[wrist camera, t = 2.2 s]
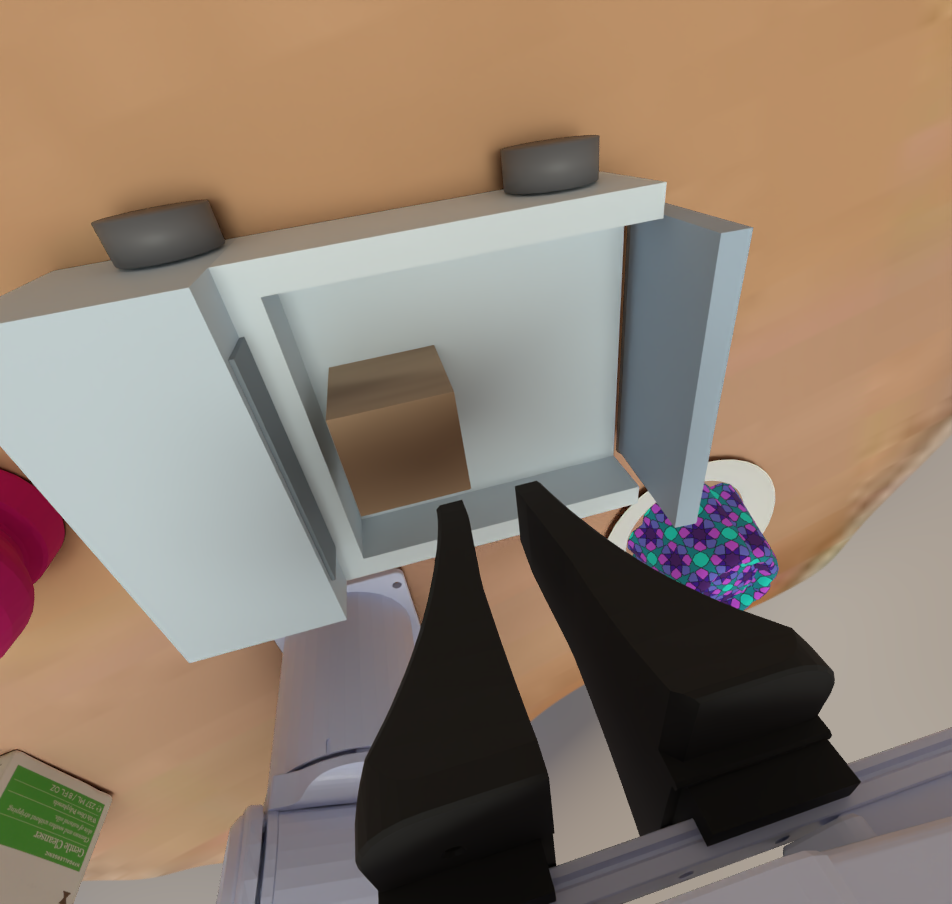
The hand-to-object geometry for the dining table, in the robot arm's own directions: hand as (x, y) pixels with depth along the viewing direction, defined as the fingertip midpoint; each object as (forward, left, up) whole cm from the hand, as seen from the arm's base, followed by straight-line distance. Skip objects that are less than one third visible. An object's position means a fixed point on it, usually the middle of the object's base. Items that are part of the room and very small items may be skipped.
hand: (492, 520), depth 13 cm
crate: (0, +2, -8) cm, 8 cm away
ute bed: (0, +2, -10) cm, 10 cm away
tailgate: (0, -9, -6) cm, 11 cm away
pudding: (-15, -14, -10) cm, 23 cm away
